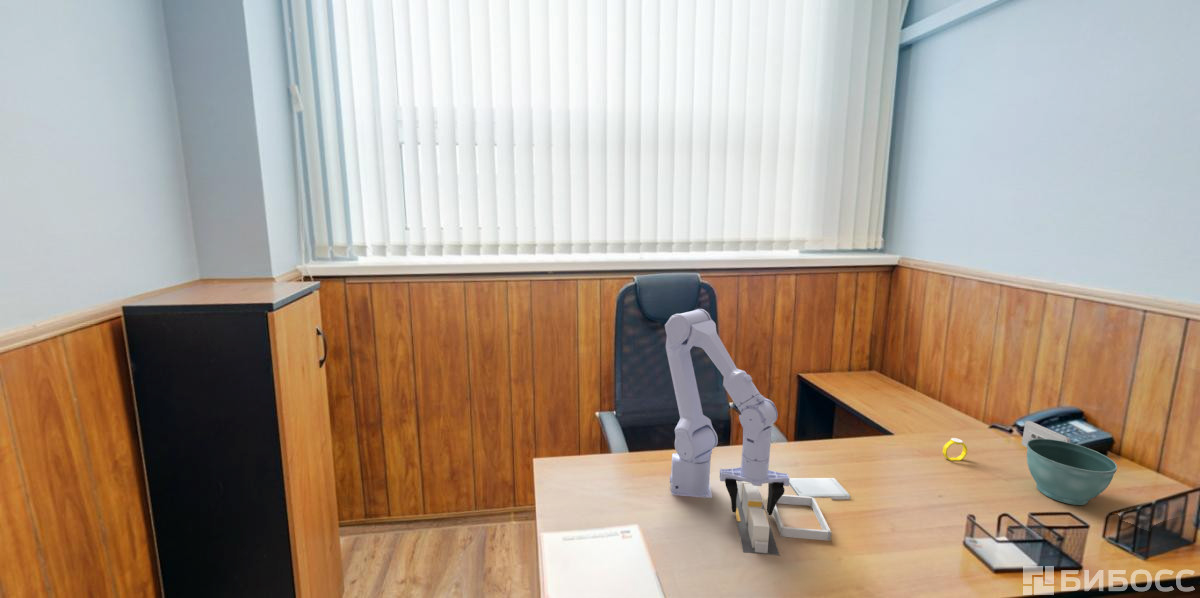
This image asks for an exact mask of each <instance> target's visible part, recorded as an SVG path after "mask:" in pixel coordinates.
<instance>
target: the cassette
mask: <svg viewBox="0 0 1200 598" xmlns="http://www.w3.org/2000/svg"><path fill="white" fill-rule="evenodd" d="M1032 439H1052V440H1059V441H1064V442H1069V443H1071V439H1070V437H1068V436H1065V435H1063V434H1060V433H1058V432H1056V431H1054V430H1052V429H1050V428H1047V427H1045V426H1043V425H1040V424H1038V423H1035V422H1034V421H1032V420H1025V423H1024V428H1023V434H1022V438H1021V446H1023V447H1026V449H1027V442H1028V441H1029V440H1032Z"/></svg>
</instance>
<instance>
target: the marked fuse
mask: <svg viewBox="0 0 1200 598" xmlns="http://www.w3.org/2000/svg"><path fill="white" fill-rule="evenodd" d="M759 487H760V486H753V485H752V484H744V489H743V503H742V509H743V513H744V516H745V520H746V523H747V524H748V519H749V508H754V509H762V502H763V496H762V494H761V491H760V488H759Z"/></svg>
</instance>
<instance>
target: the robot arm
mask: <svg viewBox="0 0 1200 598" xmlns="http://www.w3.org/2000/svg"><path fill="white" fill-rule="evenodd" d="M664 329H665V334H666V341H665V350H666V356H667V361H668V366H669V370H670V374H671V379H672V384H673V385H672V386H673V390H674V394H675V399H676V403H677V408H678V414H679V421H678V422H677V425H675V428H674V434H675V435H674V436H675V437H674V438H675V439H674V448H675V451H676V452H675V453H672V454H671V471H670V472H671V473H670V476H669V483H670V489H671V490H670V491H671V495H673V496H684V497H693V498H694V497H695V498H709V499H710V498H711V499H712V498H713V494H712V490H711V482H710V475H711V458H712V454H713V449H715V448H716V447H717V445H718V442H719V441H718V439H719V438H718V434H717V432H716V431H715V429H714V427H713V425H712V420H711V418H709V417H707V415H704V414H703V408H702V402H701V398H700V394H699V393H700V392H699V389H698V384H697V379H696V374H695V370H694V366H693V361H692V356H691V349H692V348H693V347H696V348H701V349H702V350H703V351H704V352H705V354H707V356H708V357H709V358H710V361H712V363H713V364H714V366H715V367H716V368H717V369H718V371H719V372H720V373H721V375H722V377H723V383H722V386H723V388H724V389H725V391H726V392H727V394H728V395H729V397H730V398H731V400H732V401H733V403H734V404H735V406H736V407H737V409H738V411H739V412H740V413H739V415H738V420H739V423H740V424H741V427H742V451H741V462H740V463H741V465H740V467H734V468H733V467H731V468H719V480H720V482H725V483H724V484H725V487H726V490H727V492H728V495H729V498H730V504H731V510H732V513H733V514H735V513H736V499H737V492H738V488H737V485H738V481H745V482H749V483H752V485H753V486H758V487H762V486H763V484H768V489H767V490H768V491H767V492H768V493H767V501H766V513H767V516H773V513H772V512H773V510H774V507H775V505H776V506H777V504H778V503H777V502H778V500H779V499H780V497H781V496H782V495H785V488H784V487H785V486H786V487H789V486H790V485H789V479H790V478H791V477H790V476H789V474H788V473H785V472H778V471H774V470H771V469H769V468H770V467H769V465H770V457H771V456H770V455H771V454H770V453H771V446H772V445H771V443H772V429H773V426H772V425H773V424H774V423H776V422H777V420H778V415H779V414H778V413H779V412H778V410H777V407H776V404H775V403H774V401H772V400H771V399H769V398H766V397H765V396H764V395H762V394H761V392H760V391H759V390H758V388H757V386H756V385H755V384H754V382H753V378H752V376H751V375H750V374H747V372H746V371H745V370H743V369H739V368H738V367H737V366H736V364H735V362H734V361H733V359H732V357H731V355H730V353H729V352H728V350H727V349H726V347H725V344H724V343H723V341H722V339H721V338H720V336H719V334H718V332H717V325H716V322H715V321H714V320H713V319H712V317H711V315H710V313H709V312H708V311H706V310H705V309H703V308H697V309H694V310H691V311H686V312H682V313H675V314H673V315H671V316H670V317H669V319H668V320H667V321H666V323H664Z"/></svg>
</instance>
